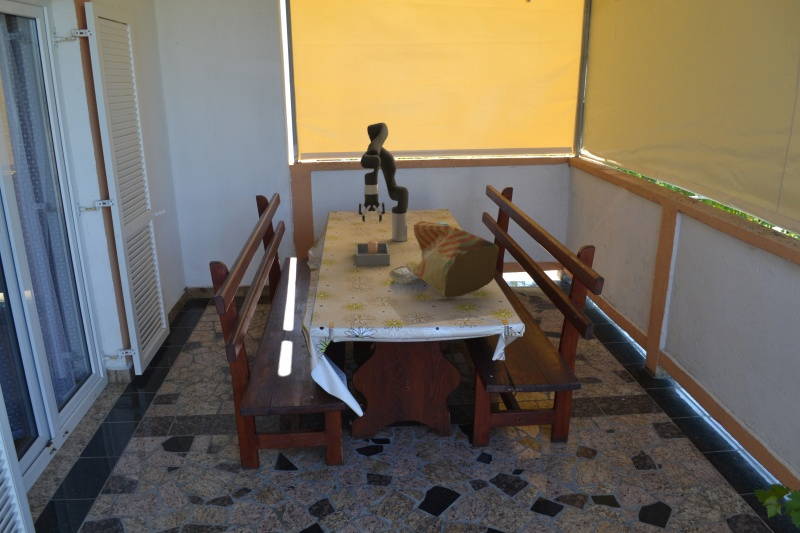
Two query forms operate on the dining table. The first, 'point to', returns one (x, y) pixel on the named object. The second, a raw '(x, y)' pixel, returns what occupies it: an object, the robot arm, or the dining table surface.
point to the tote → (372, 260)
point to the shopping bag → (453, 259)
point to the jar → (372, 247)
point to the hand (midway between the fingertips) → (372, 221)
